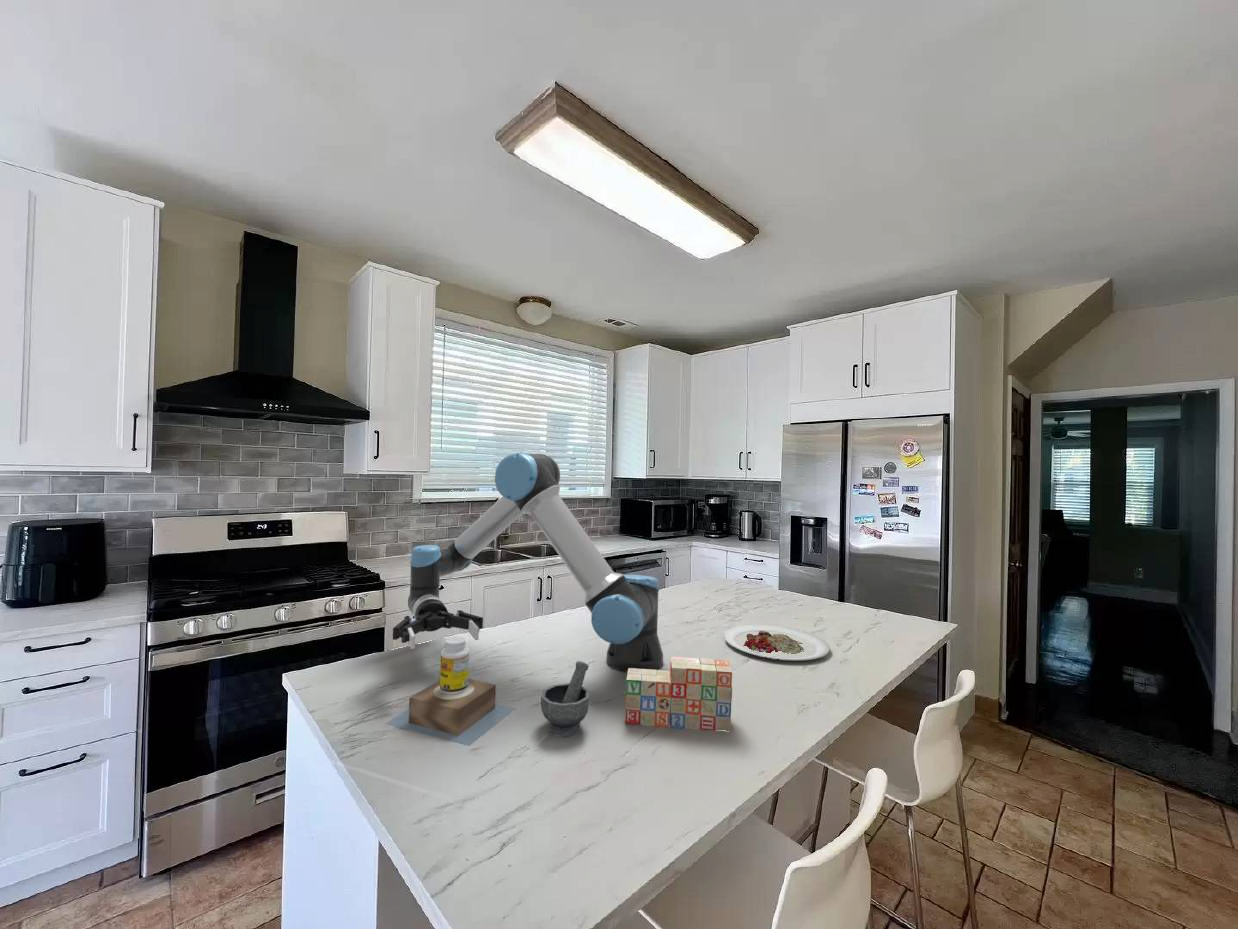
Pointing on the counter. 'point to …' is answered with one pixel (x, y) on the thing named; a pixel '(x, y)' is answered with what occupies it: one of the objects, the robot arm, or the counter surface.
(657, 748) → the counter surface
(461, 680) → the supplement bottle
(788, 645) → the plated food
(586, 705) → the mortar and pestle
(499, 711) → the mat
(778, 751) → the counter surface
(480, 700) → the foundation block
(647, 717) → the stack of blocks
